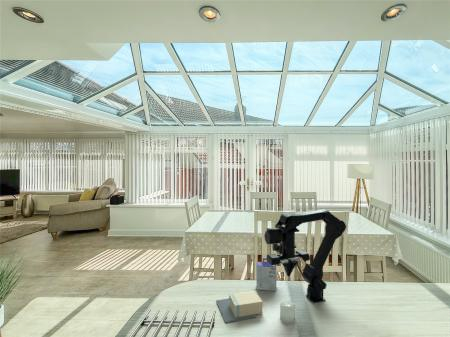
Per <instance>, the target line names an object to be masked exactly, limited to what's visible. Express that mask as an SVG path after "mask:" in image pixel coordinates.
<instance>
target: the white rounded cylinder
mask: <svg viewBox="0 0 450 337" xmlns="http://www.w3.org/2000/svg"><path fill="white" fill-rule="evenodd" d="M279 320H280V322H282V324H285V325H293V324H294V323H295V322H296V304H295V303H294V302H293V301H289V300H283V301H281V302H280V303H279Z"/></svg>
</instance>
